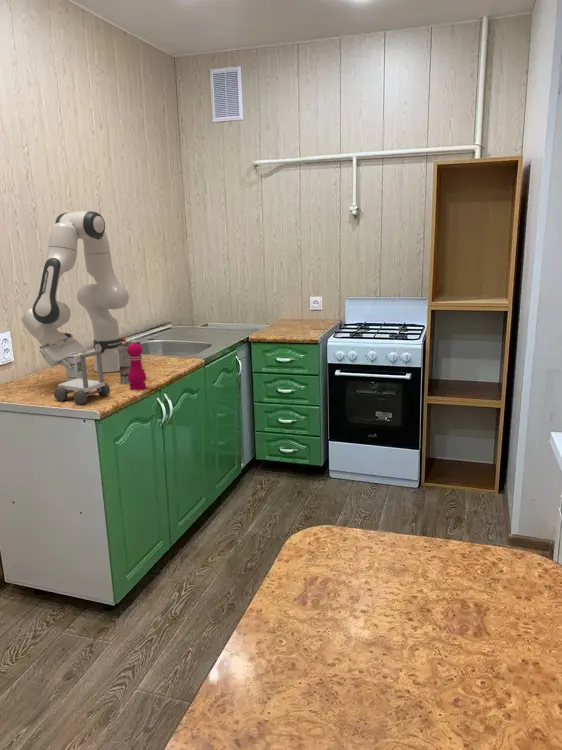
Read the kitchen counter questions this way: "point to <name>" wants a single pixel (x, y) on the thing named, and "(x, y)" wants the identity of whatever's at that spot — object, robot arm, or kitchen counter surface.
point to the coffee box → (124, 361)
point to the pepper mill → (136, 367)
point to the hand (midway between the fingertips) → (77, 367)
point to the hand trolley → (83, 383)
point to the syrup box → (74, 366)
